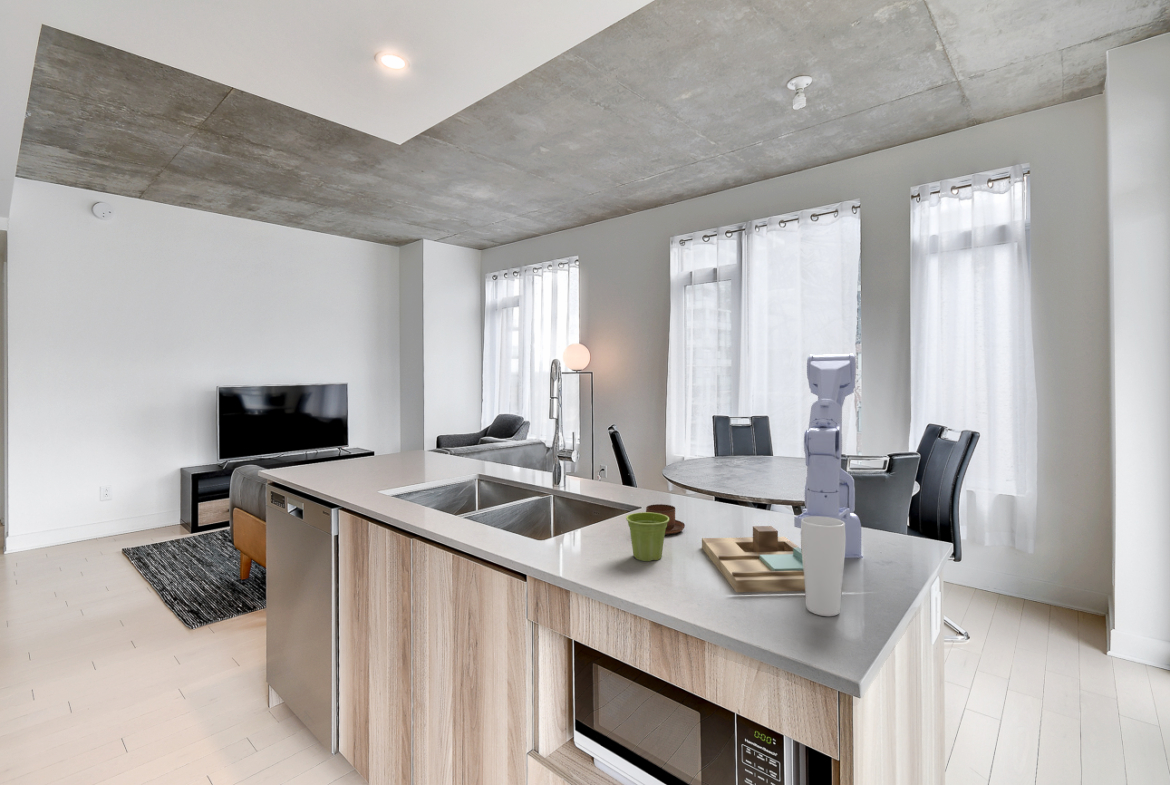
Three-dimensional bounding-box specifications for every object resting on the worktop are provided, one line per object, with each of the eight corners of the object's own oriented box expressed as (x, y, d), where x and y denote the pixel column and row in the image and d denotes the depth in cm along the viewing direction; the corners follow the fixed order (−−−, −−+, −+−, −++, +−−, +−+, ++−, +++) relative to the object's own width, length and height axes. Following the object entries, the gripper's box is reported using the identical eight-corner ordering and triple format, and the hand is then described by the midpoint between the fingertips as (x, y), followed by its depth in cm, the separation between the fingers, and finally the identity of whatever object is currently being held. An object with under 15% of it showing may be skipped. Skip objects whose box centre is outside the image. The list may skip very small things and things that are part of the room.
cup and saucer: (627, 532, 139) (627, 508, 139) (654, 523, 148) (653, 500, 148) (668, 541, 131) (668, 515, 131) (693, 530, 140) (693, 506, 140)
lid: (799, 557, 110) (799, 546, 110) (816, 572, 102) (816, 559, 102) (759, 558, 110) (759, 547, 110) (774, 572, 102) (774, 560, 102)
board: (784, 547, 125) (784, 534, 125) (840, 591, 99) (840, 574, 99) (701, 548, 125) (701, 535, 125) (736, 593, 99) (736, 577, 99)
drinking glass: (793, 603, 94) (793, 516, 94) (831, 601, 95) (831, 515, 94) (813, 620, 87) (813, 527, 87) (854, 618, 88) (854, 525, 88)
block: (770, 553, 120) (770, 525, 120) (777, 559, 116) (777, 531, 116) (752, 553, 120) (752, 526, 120) (759, 559, 116) (759, 531, 116)
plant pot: (674, 553, 122) (674, 514, 121) (662, 567, 113) (662, 525, 113) (634, 548, 126) (634, 510, 125) (619, 561, 117) (619, 520, 117)
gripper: (827, 482, 113) (827, 548, 113) (780, 490, 105) (780, 561, 106) (860, 488, 107) (860, 557, 107) (813, 497, 99) (813, 571, 100)
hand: (822, 559), depth 106 cm, fingers closed
